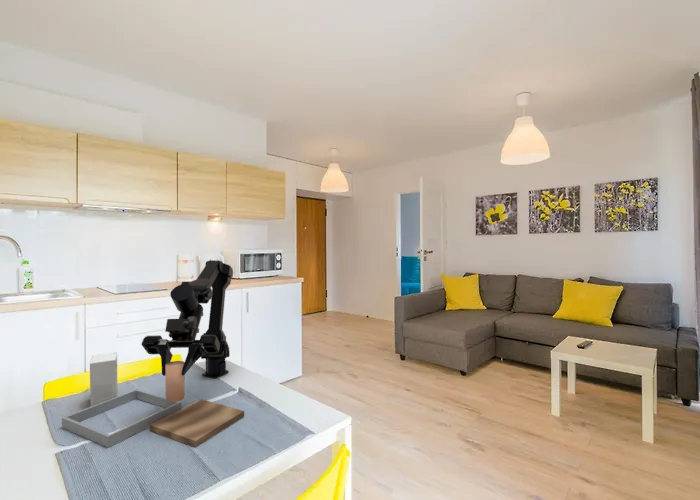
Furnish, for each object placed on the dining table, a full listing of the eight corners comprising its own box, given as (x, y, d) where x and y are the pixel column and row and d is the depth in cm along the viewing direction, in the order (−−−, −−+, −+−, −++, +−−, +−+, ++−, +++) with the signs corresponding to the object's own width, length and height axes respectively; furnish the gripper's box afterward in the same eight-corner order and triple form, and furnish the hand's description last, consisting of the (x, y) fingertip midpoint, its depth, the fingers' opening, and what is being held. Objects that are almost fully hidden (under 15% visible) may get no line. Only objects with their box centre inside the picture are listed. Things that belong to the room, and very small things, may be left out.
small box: (92, 397, 106) (92, 355, 106) (118, 393, 110) (117, 351, 109) (89, 409, 99) (89, 363, 99) (116, 403, 103) (116, 359, 102)
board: (149, 430, 88) (149, 424, 88) (201, 404, 103) (201, 399, 103) (195, 447, 81) (195, 440, 81) (244, 416, 96) (244, 411, 96)
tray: (62, 427, 89) (61, 417, 89) (136, 397, 107) (136, 389, 107) (108, 447, 81) (108, 436, 81) (181, 411, 98) (181, 402, 98)
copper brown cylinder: (162, 402, 89) (161, 366, 89) (171, 394, 93) (170, 360, 93) (179, 402, 89) (179, 366, 89) (187, 394, 93) (187, 360, 93)
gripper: (144, 305, 94) (121, 361, 83) (216, 305, 95) (203, 359, 84) (158, 327, 102) (139, 380, 91) (224, 326, 103) (213, 379, 92)
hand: (173, 374), depth 89 cm, fingers closed on copper brown cylinder, 4 cm apart
